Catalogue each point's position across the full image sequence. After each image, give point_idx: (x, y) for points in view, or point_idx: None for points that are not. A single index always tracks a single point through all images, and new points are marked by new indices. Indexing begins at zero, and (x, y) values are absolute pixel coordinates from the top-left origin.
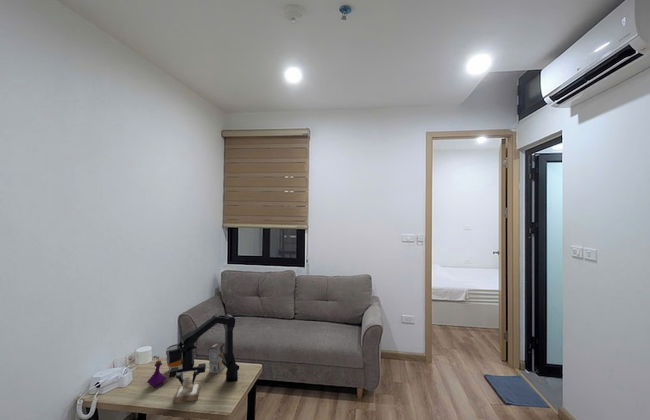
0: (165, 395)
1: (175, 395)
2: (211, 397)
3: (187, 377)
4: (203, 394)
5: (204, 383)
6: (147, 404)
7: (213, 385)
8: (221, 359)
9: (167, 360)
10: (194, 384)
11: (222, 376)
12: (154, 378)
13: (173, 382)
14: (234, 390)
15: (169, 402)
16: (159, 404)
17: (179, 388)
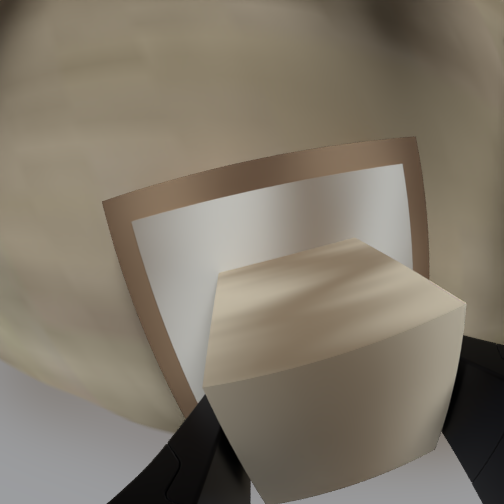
0: (40, 265)
1: (181, 405)
2: (478, 313)
3: (318, 367)
4: (431, 272)
5: (385, 56)
6: (10, 365)
7: (473, 124)
8: None
9: None
10: (346, 163)
11: (472, 10)
12: None
13: (30, 40)
14: None
15: (143, 379)
16: (81, 387)
17: (146, 270)
